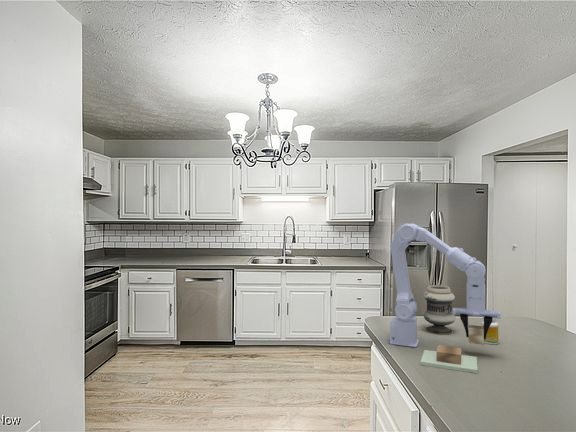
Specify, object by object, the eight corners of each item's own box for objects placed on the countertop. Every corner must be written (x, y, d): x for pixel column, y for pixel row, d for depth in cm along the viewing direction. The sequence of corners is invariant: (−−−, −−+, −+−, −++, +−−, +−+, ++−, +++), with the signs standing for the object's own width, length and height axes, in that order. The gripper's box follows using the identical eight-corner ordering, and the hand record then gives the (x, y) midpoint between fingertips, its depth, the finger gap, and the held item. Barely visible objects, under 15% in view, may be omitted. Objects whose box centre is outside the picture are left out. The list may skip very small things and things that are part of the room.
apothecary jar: (420, 332, 154) (420, 287, 155) (427, 325, 165) (427, 283, 165) (452, 337, 148) (452, 290, 148) (457, 329, 158) (457, 286, 158)
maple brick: (468, 342, 128) (468, 327, 128) (468, 339, 132) (468, 324, 132) (483, 344, 126) (483, 329, 126) (483, 340, 130) (483, 326, 130)
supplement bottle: (500, 345, 138) (500, 318, 138) (484, 344, 139) (484, 317, 140) (495, 340, 144) (495, 314, 144) (480, 339, 145) (480, 314, 145)
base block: (436, 361, 120) (436, 351, 120) (438, 354, 126) (438, 345, 126) (461, 364, 117) (460, 354, 117) (461, 357, 123) (461, 347, 123)
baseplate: (420, 364, 120) (420, 361, 120) (424, 352, 130) (424, 349, 130) (477, 373, 113) (477, 370, 113) (476, 359, 124) (476, 356, 124)
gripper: (452, 297, 129) (452, 337, 129) (501, 301, 123) (501, 343, 123) (452, 293, 135) (452, 332, 135) (499, 297, 129) (499, 337, 129)
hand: (475, 337), depth 129 cm, fingers closed on maple brick, 4 cm apart
